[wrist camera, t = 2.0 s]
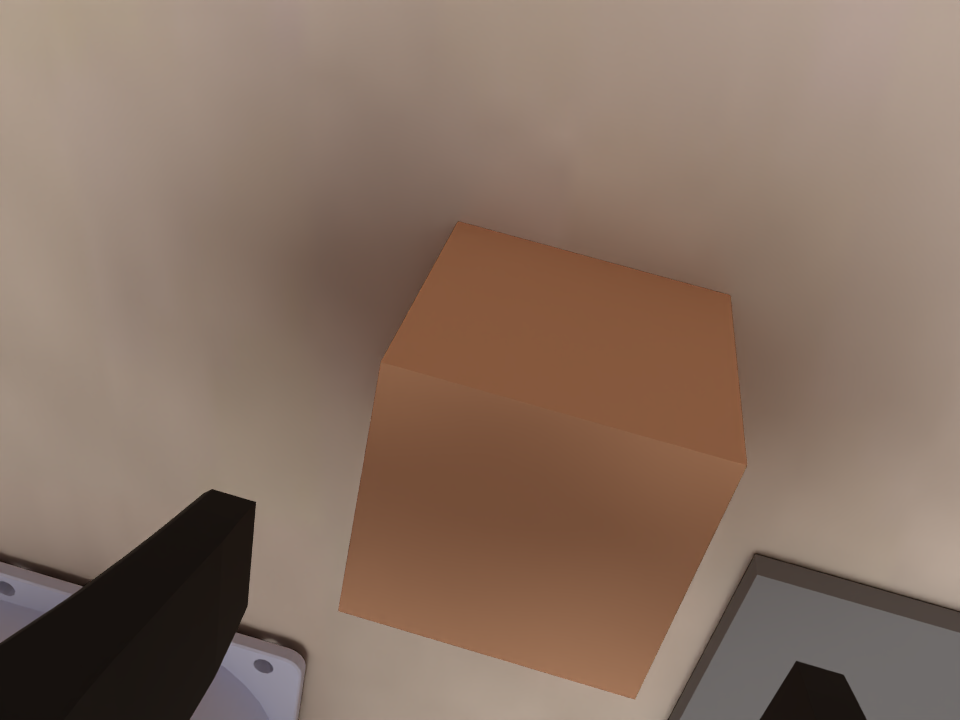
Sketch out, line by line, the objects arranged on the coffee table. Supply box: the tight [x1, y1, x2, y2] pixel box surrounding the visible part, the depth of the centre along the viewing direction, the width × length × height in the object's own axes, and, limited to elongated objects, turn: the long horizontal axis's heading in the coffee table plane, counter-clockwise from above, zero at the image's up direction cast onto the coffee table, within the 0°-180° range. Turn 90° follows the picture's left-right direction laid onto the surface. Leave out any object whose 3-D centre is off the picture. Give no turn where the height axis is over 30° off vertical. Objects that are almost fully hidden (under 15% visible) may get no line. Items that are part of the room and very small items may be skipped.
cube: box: [338, 221, 747, 699], centre depth 15 cm, size 5×5×5 cm
